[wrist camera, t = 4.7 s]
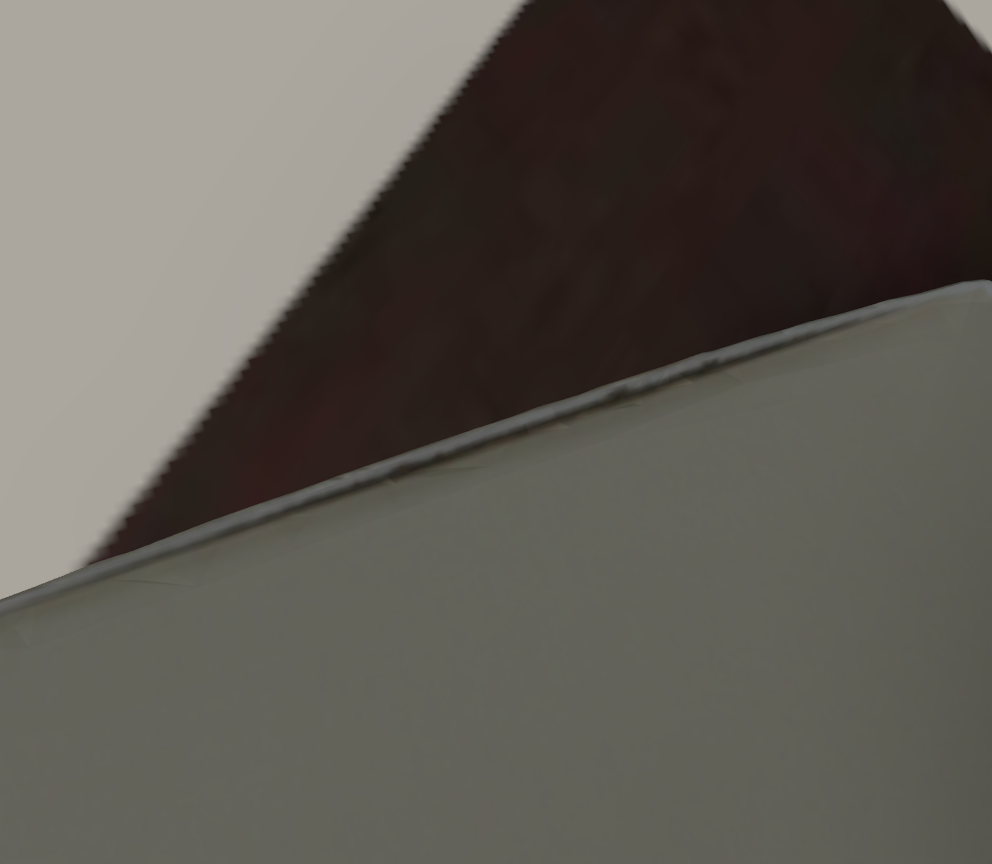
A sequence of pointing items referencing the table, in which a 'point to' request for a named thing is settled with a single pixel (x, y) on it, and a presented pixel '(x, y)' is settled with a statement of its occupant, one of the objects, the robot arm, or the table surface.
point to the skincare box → (558, 634)
